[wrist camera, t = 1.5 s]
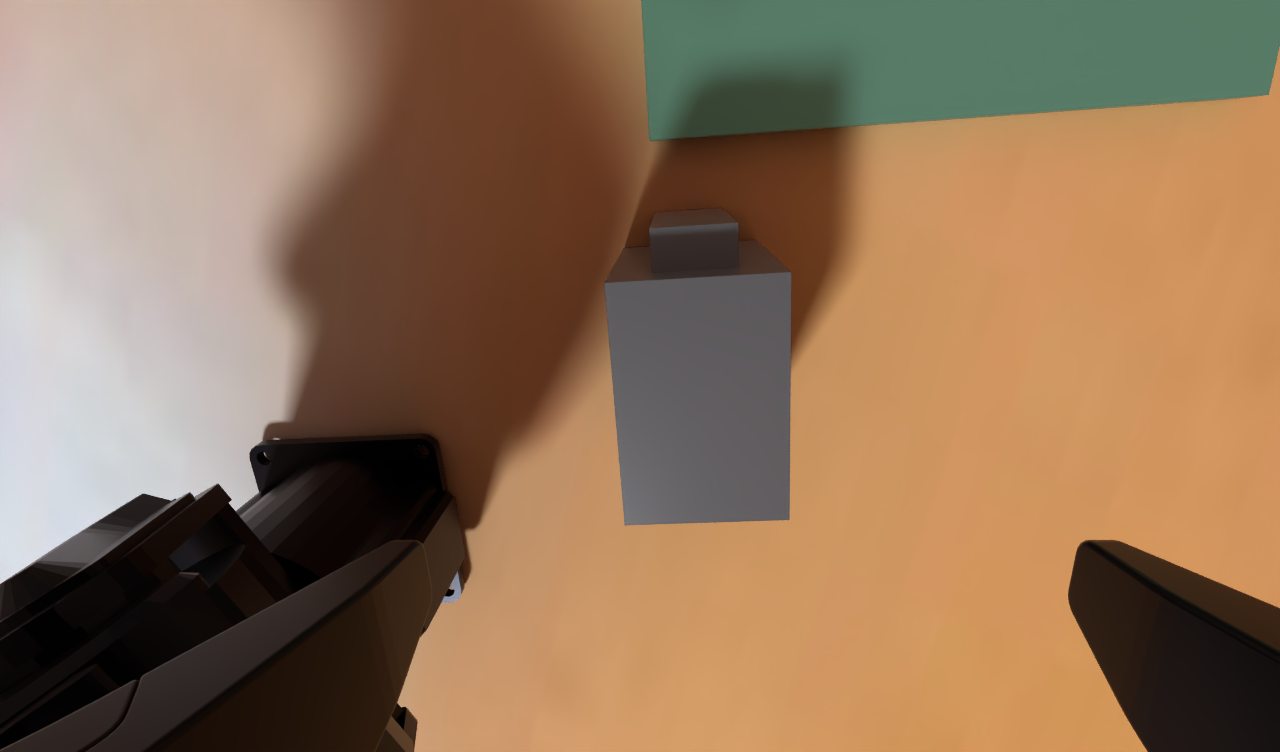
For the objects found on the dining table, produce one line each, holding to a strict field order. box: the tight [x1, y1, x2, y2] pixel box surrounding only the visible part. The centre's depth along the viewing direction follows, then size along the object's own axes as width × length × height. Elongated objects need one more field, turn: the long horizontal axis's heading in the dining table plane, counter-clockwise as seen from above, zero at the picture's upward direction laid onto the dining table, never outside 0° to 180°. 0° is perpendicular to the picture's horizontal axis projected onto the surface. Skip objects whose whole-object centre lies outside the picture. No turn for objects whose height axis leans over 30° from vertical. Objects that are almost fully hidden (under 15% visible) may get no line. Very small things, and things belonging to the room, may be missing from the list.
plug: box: [604, 208, 791, 525], centre depth 17 cm, size 4×7×6 cm, turn 4°
